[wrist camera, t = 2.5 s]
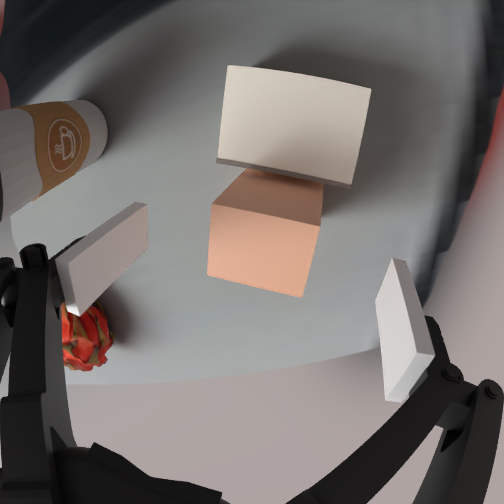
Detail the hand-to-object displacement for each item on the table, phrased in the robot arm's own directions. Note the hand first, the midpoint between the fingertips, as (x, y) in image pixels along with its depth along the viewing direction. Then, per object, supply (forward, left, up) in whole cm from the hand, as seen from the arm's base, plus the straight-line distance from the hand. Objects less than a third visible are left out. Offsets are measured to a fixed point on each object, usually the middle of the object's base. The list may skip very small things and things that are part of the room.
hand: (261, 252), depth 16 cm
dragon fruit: (+20, -21, -9) cm, 31 cm away
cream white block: (-6, 0, -9) cm, 11 cm away
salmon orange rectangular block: (0, 0, -9) cm, 9 cm away
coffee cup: (-3, -19, -9) cm, 21 cm away
